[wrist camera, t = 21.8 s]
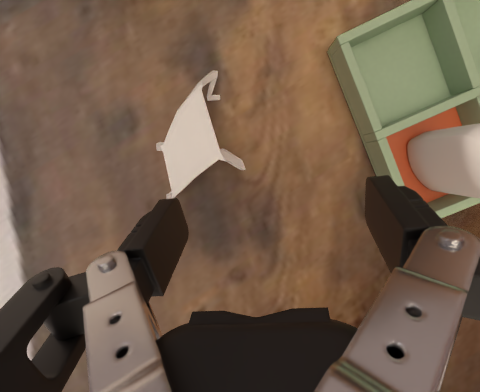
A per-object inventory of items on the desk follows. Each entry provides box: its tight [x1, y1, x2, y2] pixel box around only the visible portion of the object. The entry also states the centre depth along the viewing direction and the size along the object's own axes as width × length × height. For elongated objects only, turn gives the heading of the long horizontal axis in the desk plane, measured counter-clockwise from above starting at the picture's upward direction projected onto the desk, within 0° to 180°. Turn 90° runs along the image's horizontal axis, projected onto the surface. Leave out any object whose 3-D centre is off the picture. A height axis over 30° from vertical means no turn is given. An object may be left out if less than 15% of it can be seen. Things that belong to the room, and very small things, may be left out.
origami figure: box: [156, 70, 246, 199], centre depth 26 cm, size 12×8×5 cm
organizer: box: [327, 0, 480, 218], centre depth 25 cm, size 18×18×3 cm
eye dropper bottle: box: [407, 123, 480, 198], centre depth 21 cm, size 4×6×12 cm
